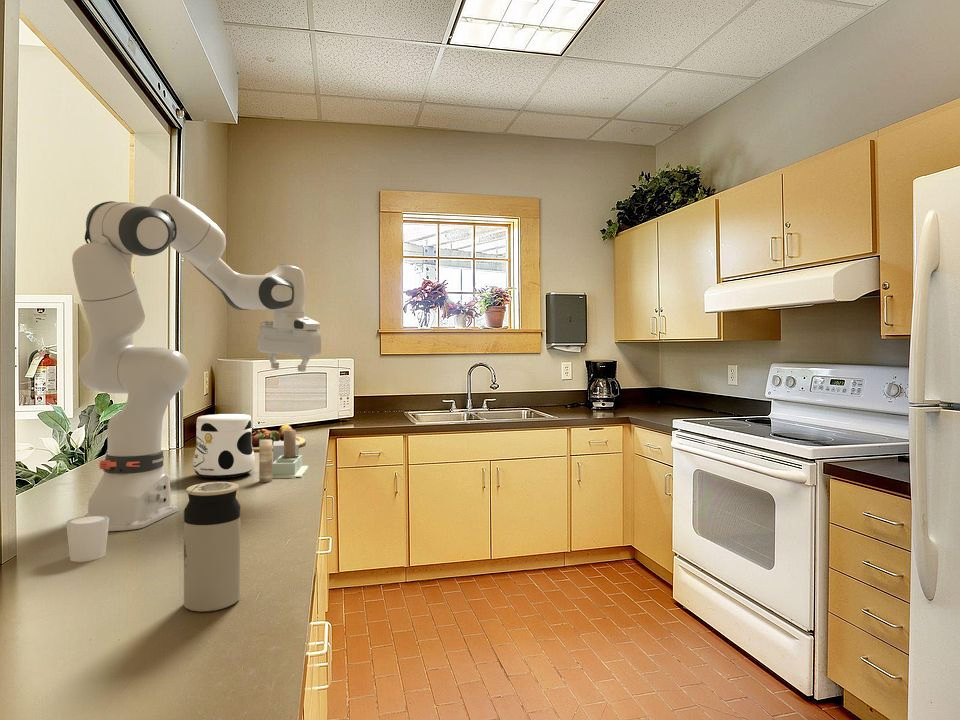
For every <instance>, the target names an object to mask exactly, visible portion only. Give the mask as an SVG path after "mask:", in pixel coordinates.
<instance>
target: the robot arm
mask: <svg viewBox="0 0 960 720" xmlns="http://www.w3.org/2000/svg"><path fill="white" fill-rule="evenodd" d="M226 237H227V236H226V235H225V233H224V231H223V230H222V229H221V228H220V227H219V226H218V225H217V223H216V222H214V221H213V220H212V219H211V218H210V217H209V216H207V215H206V214H205V213H204V212H202V211H201V210H199V208H197V207H195V205H193V204H191V203H189V202H188V201H186V200H185V199H183V198H181V197H180V196H177V195H175V194H169V193H168V194H163V195H160V196H158V197H155V199H154V200H153V201H152V202H151V203H150V205H148V206H144V205H140V204H136V203H132V202H124V201H111V200H110V201H103V202H101V203H99V204H96V205H95V206H93V207H92V208H91V209H90V210H89V212H88V214H87V216H86V220H85V233H84V241H85V244H82V245H81V246H79V247H78V248H76V249H75V250H74V252H73V254H72V257H71V263H72V269H73V275H74V276H73V277H74V280H75V285H76V289H77V292H78V296H79V298H80V301H81V303H82V307H83V309H84V312H85V315H86V319H87V322H88V326H89V330H90V343H89V347H88V350H87V351H86V353H84V354H83V356H82V357H81V359H80V361H79V363H78V367H77V368H78V370H77V371H78V376H79V380H80V381H81V383H82V384H83V386H85V387H86V388H88V389H90V390H94V391H98V392H102V393H106V394H126V395H127V401H126V402H125V405H124V407H123V408H122V410H121V411H118V412H117V413H115V414H114V415H113V416H111V417H110V419H109V420H108V422H107V454H105V457H104V458H105V459H104V460H103V459H102V460H100V461H99V463H98V468H99V470H102V472H103V474H102V476H101V477H100V479H99V481H98V482H97V485H96V487H95V488H94V490H93V491H92V493H91V495H90V497H89V498H88V505H87V513H86V514H85V515H84V516H91V515H104V516H108V517H109V526H108V532H116V531H117V532H118V531H129V530H130V531H131V530H137V529H143V528H145V527H147V526H149V525H152V524H154V523H155V522H158V521H160V520H162V519H164V518H166V517H168V516H170V515H173V514H174V513H177V512H178V506H176V505H173V504H172V494H171V493H172V492H171V483H170V482H171V480H170V479H171V478H170V476H169V474H167V473H166V472H165V470H164V469H163V466H164V459H165V458H164V457H165V456H164V451H163V450H162V432H163V420H164V415H165V412H166V410H167V408H168V406H169V403H170V402H171V400H172V399H173V398H174V397H175V395H176V394H177V393H179V392H180V391H181V390H183V389H184V387H185V386H186V385H187V383H188V382H189V380H190V377H191V375H190V374H191V367H190V363H189V360H188V359H187V357H186V356H185V355H184V354H183V353H182V352H180V351H177V350H173V349H169V348H164V347H159V346H158V347H149V346H148V347H145V346H142V347H141V346H136V345H135V343H134V335H133V334H135V332H138V331H139V330H140V329H141V328H142V326H143V324H144V323H145V319H146V314H145V311H144V308H143V305H142V304H143V303H142V302H141V298H140V294H139V292H138V289H137V285H136V283H135V279H134V276H133V275H132V260H133V257H134V256H139V257H151V256H155V255H159V254H161V253H162V252H164V251H165V250H166V249H167V248H168V247H169V246H170V247H172V249H174V250H175V251H176V252H177V253H179V254H180V255H182V256H183V257H184V258H186V260H187V261H188V262H189V263H190V264H191V265H192V266H193V267H194V269H196V270H197V271H198V272H199V273H200V274H202V276H204V277H205V278H206V279H207V280H208V281H209V282H210V283H211V284H213V285H214V286H215V287H216V288H217V289H218V290H219V291H220V292H221V295H222V296H223V297H224V300H225V301H226V302H227V303H228V305H230V306H231V308H233V309H235V310H237V311H247V310H248V311H249V310H254V311H272V312H273V313H272V321H269V320H264V321H263V322H261V324H260V325H259V333H258V337H257V345H256V346H257V347H256V349H257V351H258V352H259V353H265V354H266V353H267V358H268V360H269V362H270V369H272V370H278V369H279V368H280V362H277V359H276V357H277V354H279V355H291V356H299V357H300V360H302V361H301V362H300V364H298V365H297V371H298V372H306V370H307V369H306V367H307V364H308V363H309V361H310V357H312V358H313V357H319V356H320V355H321V352H322V336H321V333H320V331H319V330H320V327H321V323H320V322H318V321H316V320H314V319H312V318H309V316H306V309H305V300H306V295H307V294H306V290H307V288H306V287H307V285H306V277H305V273H304V271H303V269H302V268H300V267H298V266H295V265H291V264H290V265H289V264H285V263H283V264H278V265H276V267H275V268H274V269H273V270H271V271H269V272H267V273H264V274H244V273H239V272H236V271H234V270H233V269H232V268H231V267H230V266H229V265H228V264H227V263H226V262H225V261H224V260H223V259H222V258H221V257H222V256H223V255H224V253H225V251H226V246H227V239H226Z"/></svg>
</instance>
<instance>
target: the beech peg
mask: <svg viewBox="0 0 960 720" xmlns="http://www.w3.org/2000/svg"><path fill="white" fill-rule="evenodd" d="M258 454H259V455H258V457H259V459H258V467H259V468H258V470H259V471H258V473H259V474H258V476H259V477H258V480H259V481H258V482H259V483H262V482H266V483H271V481H272V482H273V478H272V463H273V452H272V440H270V439H265V440H259V452H258Z"/></svg>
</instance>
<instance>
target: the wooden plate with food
mask: <svg viewBox="0 0 960 720" xmlns="http://www.w3.org/2000/svg"><path fill="white" fill-rule="evenodd" d="M284 430H294V429H293V427H292V426H291V425H289V424H287V423H283V424H282V425H281V427H280V428H279V430H278V431H277V430H268V429H264V428H262V429H257V430H256V431H254V432H253V433H252V437H251V442H252V448H253V451H254V453H259V440H265V439H270V440H272V453H273V442H274V441H284ZM297 440H298V444H299V449H300V448H302V447H304V446H305V445H306V444H307V440H306V439H305V438H303V437H300V436H297V435H296V441H297Z"/></svg>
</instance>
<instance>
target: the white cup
mask: <svg viewBox="0 0 960 720" xmlns="http://www.w3.org/2000/svg"><path fill="white" fill-rule="evenodd" d="M65 526H66V533H67V544H68V553H69V560H70V561H71V562H77V563H83V562H90V561H95V560H99V559H101V558H103V557H105V556H106V554H107V545H108V544H107V543H108V534H109V531H108V526H109V517H108V516H104V515H91V516H85V515H84V516H78V517H75V518H71V519H68V520H67V521H66V522H65Z"/></svg>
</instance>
